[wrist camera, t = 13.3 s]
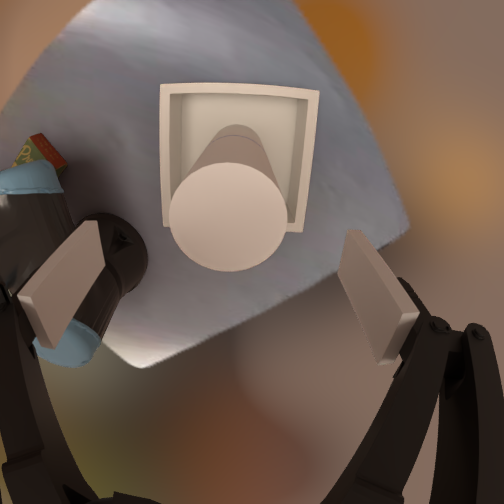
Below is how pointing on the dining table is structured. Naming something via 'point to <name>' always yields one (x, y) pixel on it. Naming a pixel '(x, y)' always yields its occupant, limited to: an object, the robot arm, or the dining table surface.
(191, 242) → the cylindrical container
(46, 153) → the carton
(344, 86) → the dining table surface
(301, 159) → the beige bin
